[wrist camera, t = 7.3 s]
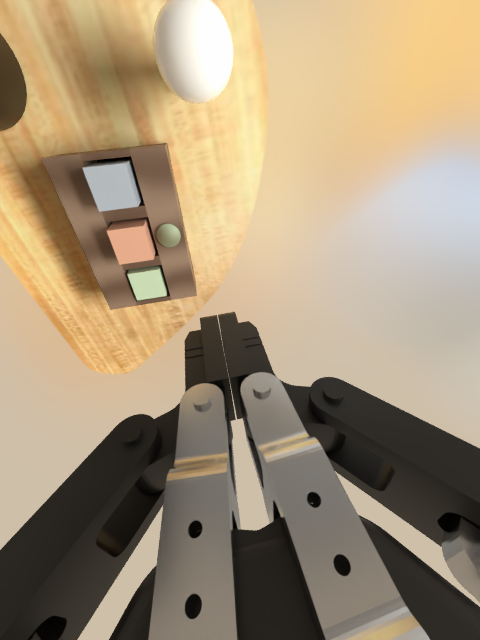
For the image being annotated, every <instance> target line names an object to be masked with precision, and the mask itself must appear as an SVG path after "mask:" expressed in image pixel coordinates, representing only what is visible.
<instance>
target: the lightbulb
mask: <svg viewBox="0 0 480 640" xmlns="http://www.w3.org/2000/svg"><path fill="white" fill-rule="evenodd" d="M153 47H154V55H155V59H156V63H157V66H158V69H159V72H160V74H161V76H162V78H163V80H164V81H165V83H166V85H167V86H168V87H169V88H170V90H171V91H172V92H173V93H174V94H175V95H177V96H178V97H179V98H181V99H182V100H184V101H186V102H189V103H193V104H204V103H207V102H210V101H212V100H213V99H215V98H216V97H217V96H219V95H220V93H221V92H222V91H223V90H224V88H225V87H226V85H227V83H228V81H229V78H230V75H231V71H232V66H233V43H232V37H231V33H230V30H229V27H228V24H227V22H226V20H225V18H224V16H223V14H222V12H221V11H220V9H219V8H218V7H217V6H216V4H215V3H214V2H213V1H211V0H167V1H166V2H165V3H164V5H163V6H162V8H161V9H160V11H159V13H158V16H157V19H156V22H155V26H154V34H153Z"/></svg>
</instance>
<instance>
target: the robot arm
mask: <svg viewBox="0 0 480 640" xmlns="http://www.w3.org/2000/svg"><path fill="white" fill-rule="evenodd" d="M218 317H219V323H220V329H221V335H220V329H219V324H218V319H217V315H214V316H209V317H203V318H200V323H201V330H197V331H192V332H189V334H188V336H187V338H186V339H185V385H186V389H185V394H184V395H183V396H182V399H181V402H180V403H179V404H178V405H177V406H176V407H175V408H174V409H172V410H171V411H169V412H167V413H165V414H164V415H161V416H160V417H157V418H156V419H153V418H152V417H150V416H148V415H144V414H138V415H133V416H131V417H128V418H126V419H125V420H123V421H122V422H121V423H119V424H118V425H117V426H116V427H115V428H114V429H113V431H111V432H110V434H109V435H108V436H107V437H106V438H105V439H104V440H103V441H102V442H101V443H100V444H99V445H98V446H97V447H96V449H95V450H94V451H93V452H92V453H91V454H90V455H89V456H88V457H87V458H86V459H85V460H84V461H83V462H82V463H81V465H80V466H79V467H78V468H77V469H76V470H75V471H74V472H73V473H72V474H71V475H70V476H69V477H68V478H67V479H66V480H65V482H64V483H63V484H62V485H61V486H60V487H59V488H58V489H57V490H56V491H55V492H54V493H53V494H52V496H51V497H50V498H49V499H48V500H47V501H46V502H45V503H44V504H43V505H42V506H41V507H40V508H39V509H38V510H37V511H36V513H35V514H34V515H33V516H32V517H31V518H30V519H29V520H28V521H27V522H26V523H25V524H24V525H23V527H21V529H20V530H19V531H18V532H17V533H16V534H15V535H14V536H13V537H12V538H11V539H10V541H8V542H7V544H6V545H5V546H4V547H3V548H2V549H1V550H0V640H77V639H78V638H79V636H80V634H81V633H82V631H83V630H84V628H85V627H86V625H87V623H88V622H89V620H90V619H91V617H92V616H93V614H94V612H95V611H96V609H97V608H98V606H99V605H100V603H101V601H102V600H103V598H104V597H105V595H106V594H107V592H108V590H109V588H110V587H111V586H112V584H113V583H114V581H115V579H116V578H117V576H118V574H119V573H120V572H121V570H122V568H123V567H124V565H125V563H126V562H127V561H128V559H129V557H130V556H131V554H132V553H133V551H134V550H135V548H136V546H137V545H138V543H139V542H140V540H141V538H142V537H143V535H144V534H145V532H146V531H147V529H148V528H149V526H150V524H151V523H152V521H153V520H154V518H155V516H156V515H157V513H158V512H159V510H160V509H161V507H162V505H163V514H162V523H161V531H160V541H159V549H158V558H157V565H156V566H155V567H154V569H152V571H151V572H150V573H149V574H148V575H147V577H146V578H145V579H144V580H143V582H142V583H141V585H140V586H139V588H138V589H137V591H136V592H135V594H134V596H133V597H132V599H131V601H130V603H129V604H128V606H127V608H126V610H125V611H124V613H123V615H122V617H121V619H120V621H119V623H118V624H117V626H116V628H115V630H114V632H113V633H112V635H111V637H110V639H109V640H480V607H479V606H478V605H477V604H475V603H474V602H473V601H471V600H470V599H469V598H468V597H466V596H465V595H464V594H463V593H462V592H460V591H459V590H458V589H457V588H455V587H454V586H453V585H451V584H450V583H449V582H448V581H447V580H445V579H444V578H443V577H442V576H441V575H439V574H438V573H437V572H436V571H434V570H433V569H432V568H431V567H429V566H428V565H427V564H426V563H424V562H423V561H422V560H421V559H419V558H418V557H417V556H416V555H414V554H413V553H412V552H411V551H409V550H408V549H407V548H406V547H404V546H403V545H402V544H401V543H399V542H398V541H397V540H396V539H395V538H393V537H392V536H391V535H390V534H388V533H387V532H386V531H385V530H383V529H382V528H381V527H379V526H377V525H376V524H374V523H373V522H371V521H369V520H367V519H365V518H363V517H361V516H359V515H358V514H357V512H356V510H355V509H354V507H353V505H352V503H351V501H350V499H349V497H348V495H347V493H346V491H345V490H344V488H343V486H342V484H341V482H340V480H339V478H338V476H337V474H336V473H335V471H336V472H337V473H338V474H340V475H341V476H343V477H344V478H346V479H347V480H348V481H350V482H351V483H352V484H354V485H355V486H357V487H358V488H360V489H361V490H362V491H364V492H365V493H367V494H368V495H369V496H371V497H372V498H374V499H375V500H377V501H378V502H379V503H381V504H382V505H383V506H385V507H386V508H388V509H389V510H390V511H392V512H393V513H395V514H396V515H397V516H399V517H400V518H402V519H403V520H404V521H406V522H407V523H409V524H410V525H412V526H413V527H414V528H416V529H417V530H419V531H420V532H422V533H423V534H424V535H426V536H427V537H429V538H430V539H431V540H433V541H434V542H435V543H437V544H438V545H440V546H441V547H442V551H443V556H444V558H445V561H446V563H447V565H448V567H449V569H450V571H451V572H452V574H453V576H454V577H455V578H456V579H457V580H458V582H459V583H460V584H461V585H462V586H463V587H464V588H465V589H466V590H467V591H468V592H469V593H471V594H472V595H473V596H474V597H475V598H476V599H477V600H478V601H479V602H480V448H477V447H476V446H473V445H471V444H469V443H467V442H465V441H463V440H461V439H459V438H457V437H455V436H453V435H451V434H449V433H447V432H445V431H443V430H441V429H439V428H437V427H435V426H433V425H431V424H429V423H427V422H425V421H423V420H421V419H419V418H417V417H415V416H413V415H411V414H409V413H407V412H405V411H403V410H401V409H399V408H397V407H395V406H393V405H391V404H389V403H387V402H385V401H383V400H381V399H379V398H377V397H375V396H373V395H371V394H369V393H367V392H365V391H363V390H361V389H359V388H357V387H354V386H353V385H351V384H349V383H347V382H345V381H343V380H340V379H337V378H333V377H324V378H320V379H318V380H316V381H315V382H314V383H313V384H312V386H311V387H303V386H294V385H289V384H287V383H284V382H283V381H281V380H280V379H278V378H277V377H276V376H275V374H274V372H273V370H272V367H271V365H270V362H269V360H268V357H267V354H266V352H265V349H264V346H263V345H262V341H261V339H260V336H259V333H258V331H257V328H256V327H255V326H254V325H253V324H251V323H250V322H249V321H248V322H242V323H238V321H237V318H236V314H235V312H232V313H226V314H220V315H218ZM221 336H222V340H221ZM222 342H223V345H222ZM223 348H224V350H223ZM224 353H225V355H224ZM225 358H226V360H225ZM226 364H227V366H226ZM227 369H228V371H227ZM228 374H229V376H228ZM229 379H230V382H229ZM230 384H231V388H230ZM231 389H232V394H233V399H234V405H235V409H236V415H237V419H241V418H243V421H244V426H245V431H246V438H247V442H248V445H249V448H250V452H251V455H252V458H253V462H254V465H255V469H256V472H257V476H258V479H259V483H260V486H261V489H262V493H263V497H264V502H265V506H266V511H267V514H268V518H269V521H270V524H269V525H267V526H265V527H264V528H262V529H260V530H257V531H252V530H241V528H240V518H239V509H238V502H237V491H236V480H235V468H234V456H233V444H232V438H233V433H232V427H231V422H230V421H232V420H235V414H234V407H233V401H232V394H231Z"/></svg>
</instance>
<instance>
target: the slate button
mask: <svg viewBox="0 0 480 640" xmlns="http://www.w3.org/2000/svg"><path fill="white" fill-rule="evenodd" d="M82 169H83V171H84V174H85V177H86V179H87V182H88V184H89V187H90V190H91V192H92V195H93V197H94V200H95V202H96V205H97V208H98V210H99V212H101V211H109V210H116V209H124V208H132V207H138V206H139V204H140V202H141V200H142V199H143V197H142V193H141V190H140V186H139V183H138V179H137V176H136V172H135V168H134V165H133V161H132V159H127V160H118V161H109V162H100V163H93V164H91V165H88V166H86V167H83V168H82Z"/></svg>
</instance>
